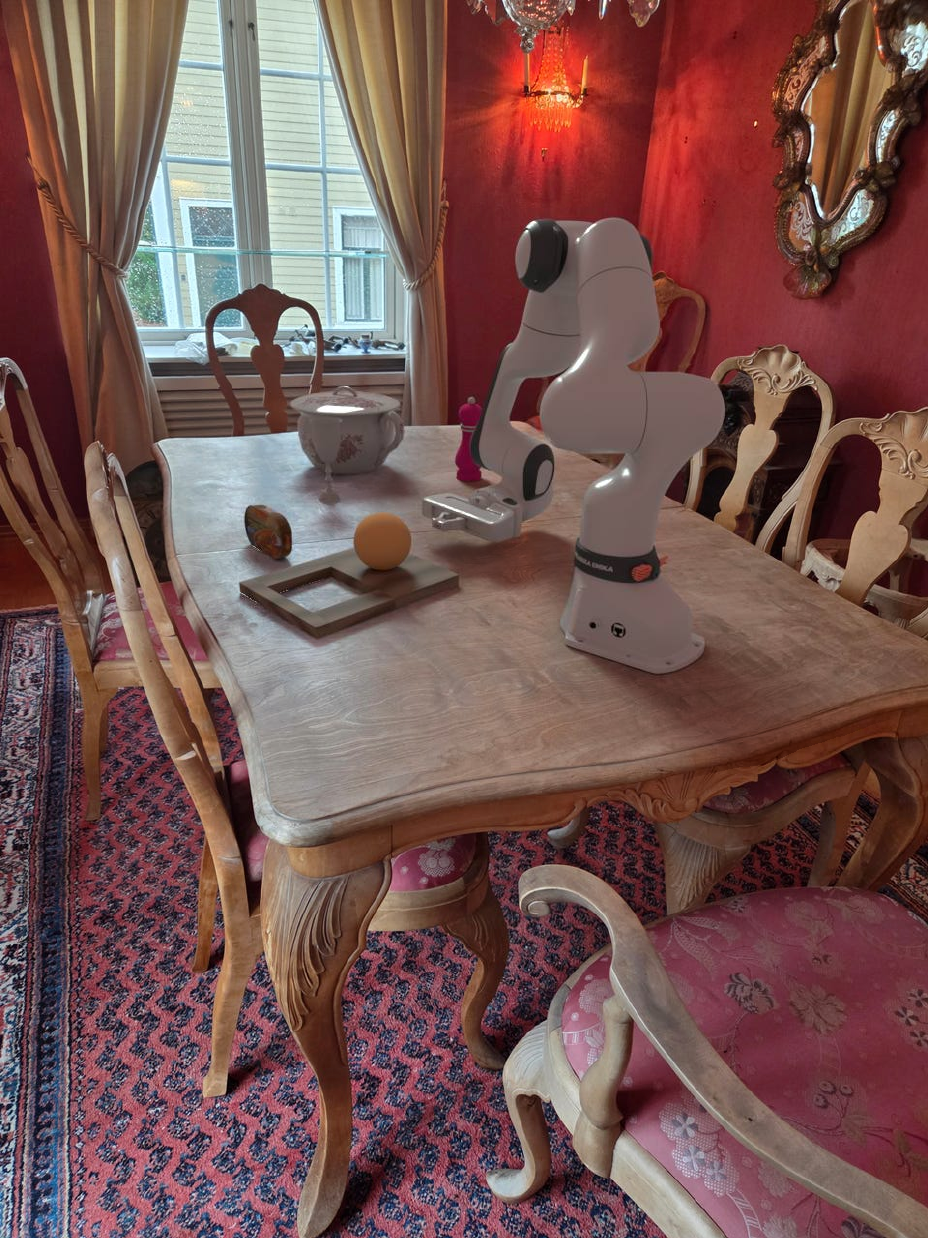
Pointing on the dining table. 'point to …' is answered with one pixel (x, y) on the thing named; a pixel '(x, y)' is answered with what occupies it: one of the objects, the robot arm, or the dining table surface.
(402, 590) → the board
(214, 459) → the dining table surface
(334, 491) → the chalice
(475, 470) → the pepper mill
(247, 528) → the tin
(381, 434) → the chamber pot
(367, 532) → the ball
